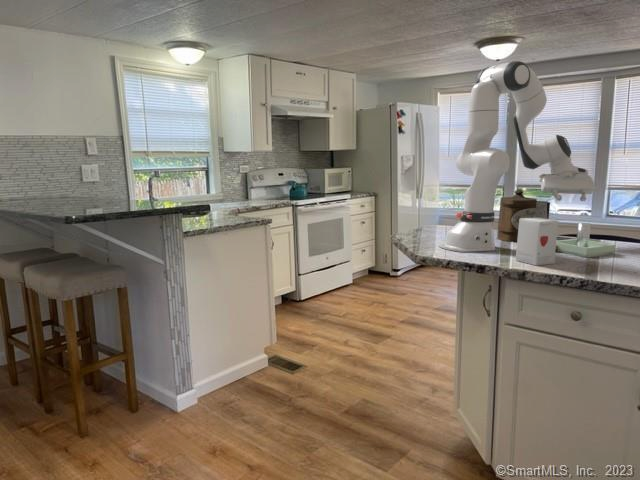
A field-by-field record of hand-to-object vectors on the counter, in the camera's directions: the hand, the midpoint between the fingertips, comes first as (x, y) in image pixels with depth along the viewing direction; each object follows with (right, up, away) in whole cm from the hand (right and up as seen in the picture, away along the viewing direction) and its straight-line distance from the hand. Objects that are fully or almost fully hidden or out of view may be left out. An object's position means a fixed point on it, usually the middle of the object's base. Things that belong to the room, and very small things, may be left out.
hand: (571, 199), depth 188 cm
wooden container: (-15, -16, +18) cm, 28 cm away
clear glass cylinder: (-1, -20, -10) cm, 22 cm away
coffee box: (-2, -15, +26) cm, 30 cm away
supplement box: (-27, -24, -27) cm, 45 cm away
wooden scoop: (-15, -21, -10) cm, 27 cm away
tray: (-1, -21, -9) cm, 23 cm away
